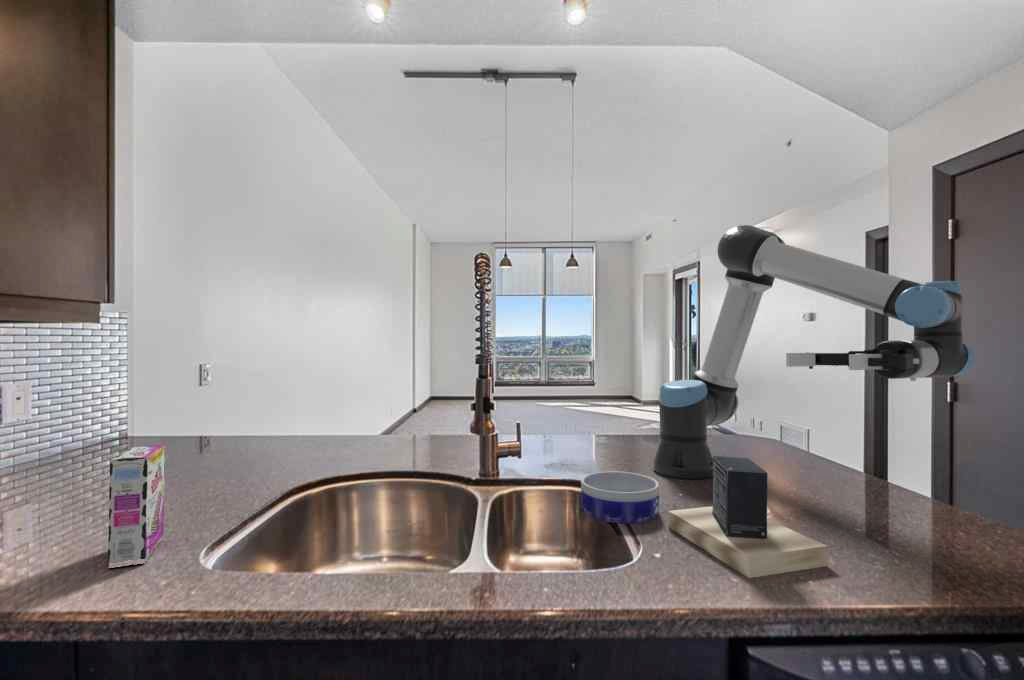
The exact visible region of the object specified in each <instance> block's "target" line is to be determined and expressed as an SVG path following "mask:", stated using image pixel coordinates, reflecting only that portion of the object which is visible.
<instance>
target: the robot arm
mask: <svg viewBox="0 0 1024 680" xmlns="http://www.w3.org/2000/svg"><path fill="white" fill-rule="evenodd" d="M717 257H718V260H719V261H720V263H721V264H722V265H723V266H724V268H726V272H725V276H724V278H725V280H726V281H727V283H728V286H727V289H726V292H725V294H724V299H723V303H722V305H721V309H720V310H719V311H720V312H719V313H718V314H719V315H718V318H717V321H716V324H715V328H714V330H713V333H712V337H711V339H710V343H709V346H708V349H707V352H706V356H705V359H704V362H703V365H702V367H701V369H698V370H696V371H694V375H693V377H692V379H679V380H670V381H667V382H664V383H663V384H661V386H660V389H659V397H658V401H659V442H658V446H657V448H656V451H655V455H654V458H653V462H652V466H653V467H652V468H653V469H654V470H653V471H654V472H655V471H656V472H655V473H657V474H660V475H662V476H665V477H671V478H678V479H690V480H692V479H693V480H694V479H695V480H696V479H698V480H700V479H708V478H713V456H712V454H711V450H710V448H709V445H708V427H710V426H718V425H722V424H725V423H726V422H727V421H729V420H730V419H732V417H734V416H735V415H736V412H737V410H738V406H739V398H738V395H737V392H738V388H739V383H738V381H737V379H736V376H737V372H738V368H739V366H740V363H741V360H742V357H743V354H744V350H745V348H746V344H747V342H748V339H749V336H750V333H751V330H752V327H753V323H754V321H755V318H756V314H757V313H758V309H759V306H760V304H761V301H762V300H761V299H762V296H763V294H764V293H765V292H766V291H768V290H770V289H771V288H772V287H773V284H774V282H775V279H778V280H781V281H784V282H787V283H789V284H793V285H796V286H798V287H802V288H805V289H807V290H810V291H814V292H816V293H819V294H823V295H825V296H828V297H830V298H833V299H836V300H840V301H843V302H845V303H849V304H852V305H854V306H858V307H860V308H863V309H866V310H869V311H873V312H875V313H877V314H881V315H883V316H886V317H889V318H892V319H895V320H898V321H901V322H903V323H904V324H906V325H908V326H912V327H913V340H885V341H882V342H880V343H877V345H875V346H874V348H873V349H863V350H849V351H847V352H824V353H823V352H819V353H818V352H786V353H785V355H786V356H785V358H786V361H785V362H786V365H785V366H786V367H790V368H791V367H795V368H796V367H808V368H809V370H810V369H811V370H813V368H814V367H816V366H841V367H842V366H846V367H848V370H849V371H861V370H862V371H864V370H866V371H867V370H871V371H874V372H875V373H876V374H877V375H878V376H880V377H881V378H885V379H888V380H892V379H894V380H895V379H897V380H898V379H909V380H910V381H911V382H916V380H917V379H918V378H919V379H921V378H924V379H925V378H930V379H931V378H932V379H933V378H951V377H957V376H958V377H959V376H962V375H965V374H967V373H969V372H970V371H971V370H972V369H973V367H974V366H975V363H976V360H977V358H976V353H975V352H974V350H973V348H972V346H970V345H969V344H968V343H966V342H963V340H964V339H963V338H964V337H963V327H962V326H963V325H962V324H963V321H962V319H963V318H962V317H963V300H964V296H963V294H962V285H961V283H960V282H958V281H955V280H940V281H939V280H938V281H935V280H934V281H926V282H920V283H919V282H917V281H916V282H915V281H912V280H908V279H904V278H903V277H899V276H895V275H892V274H889V273H885V272H882V271H878V270H875V269H871V268H868V267H864V266H861V265H858V264H855V263H850V262H847V261H844V260H840V259H837V258H833V257H831V256H827V255H824V254H820V253H818V252H817V253H816V252H813V251H810V250H806V249H802V248H800V247H796V246H793V245H789V244H786V243H785V241H784V240H783V239H782V238H781V237H779V236H778V235H777V234H776V233H774V232H771V231H768V230H764V229H762V228H759V227H756V226H754V225H749V224H742V225H737V226H734V227H732V228H730V229H729V230H727V231H726V232H725V233H724V234H723V235H722V236H721V237H720V240H719V241H718V245H717Z"/></svg>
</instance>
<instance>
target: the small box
mask: <svg viewBox="0 0 1024 680" xmlns="http://www.w3.org/2000/svg"><path fill="white" fill-rule="evenodd" d="M712 459H713V476H712V506H713V511H712V514H713V516H714V517H715V519H716V520H717V522H718V524H719V525H720V527H721V528H722V530H723V531H724V533H725V534H726V536H740V537H753V538H767V519H768V472H767V471H765V470H764V469H763V468H762V467H760V466H759V465H758V464H756V463H755V462H754V461H753V460H752V459H750V458H749V457H737V456H736V457H735V456H734V457H733V456H719V455H718V456H717V455H713V456H712Z"/></svg>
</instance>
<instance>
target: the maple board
mask: <svg viewBox="0 0 1024 680" xmlns="http://www.w3.org/2000/svg"><path fill="white" fill-rule="evenodd" d="M712 511H713V505H712V506H701V507H693V508H684V509H674V510H668V519H667V520H668V521H667V522H668V523H667V524H668V527H669V528H668V529H670V530H672V531H673V532H675V533H676V532H677V533H676V534H678V533H679V534H678V535H680V536H681V535H682V536H681V537H683V538H684V537H685V539H686V538H687V539H686V540H688V541H689V540H690V541H689V542H691V543H692V542H693V543H692V544H693V545H695V544H696V546H697V545H698V546H697V547H699V548H700V547H701V548H700V549H702V548H703V549H704V550H703V549H702V550H703V551H705V550H706V551H705V552H706V553H708V552H709V554H710V555H712V556H713V557H715V558H716V559H718V560H719V561H721V562H722V563H724V564H726V565H727V566H729V567H731V568H732V569H734V570H736V571H737V572H739V573H740V574H742V575H743V576H744V577H746V578H748V579H753V578H760V577H767V576H773V575H778V574H786V573H792V572H798V571H805V570H810V569H817V568H823V567H824V568H825V567H828V545H826V544H824V543H822V542H819V541H817V540H815V539H813V538H811V537H808V536H807V535H804V534H801V533H800V532H797V531H795V530H793V529H791V528H788V527H785V526H784V525H781V524H779V523H777V522H774V521H773V520H770V519H768V518H767V538H753V537H740V536H726V534H725V533H724V531H723V530H722V528H721V527H720V525H719V524H718V522H717V520H716V519H715V517H714V516H713V514H712Z"/></svg>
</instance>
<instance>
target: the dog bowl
mask: <svg viewBox="0 0 1024 680" xmlns="http://www.w3.org/2000/svg"><path fill="white" fill-rule="evenodd" d="M580 494H581V495H580V496H581V509H582V512H583V513H584V514H585V515H587V516H588V517H590V518H592V519H595V520H598V521H601V522H606V523H610V524H611V523H613V524H614V523H615V524H622V525H623V524H625V525H626V524H627V525H630V524H642V523H647V521H648V522H650V521H653V520H655V519H657V517H658V516H659V512H660V511H659V510H660V509H659V508H660V506H659V505H660V484H659V482H658V481H657V480H656V479H654V478H653V477H650V476H647V475H644V474H641V473H640V474H639V473H637V472H636V473H635V472H630V471H629V472H628V471H618V470H617V471H615V470H613V471H598V472H593V473H589V474H587V475H584V476H583V477H582V478H581V479H580Z"/></svg>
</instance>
